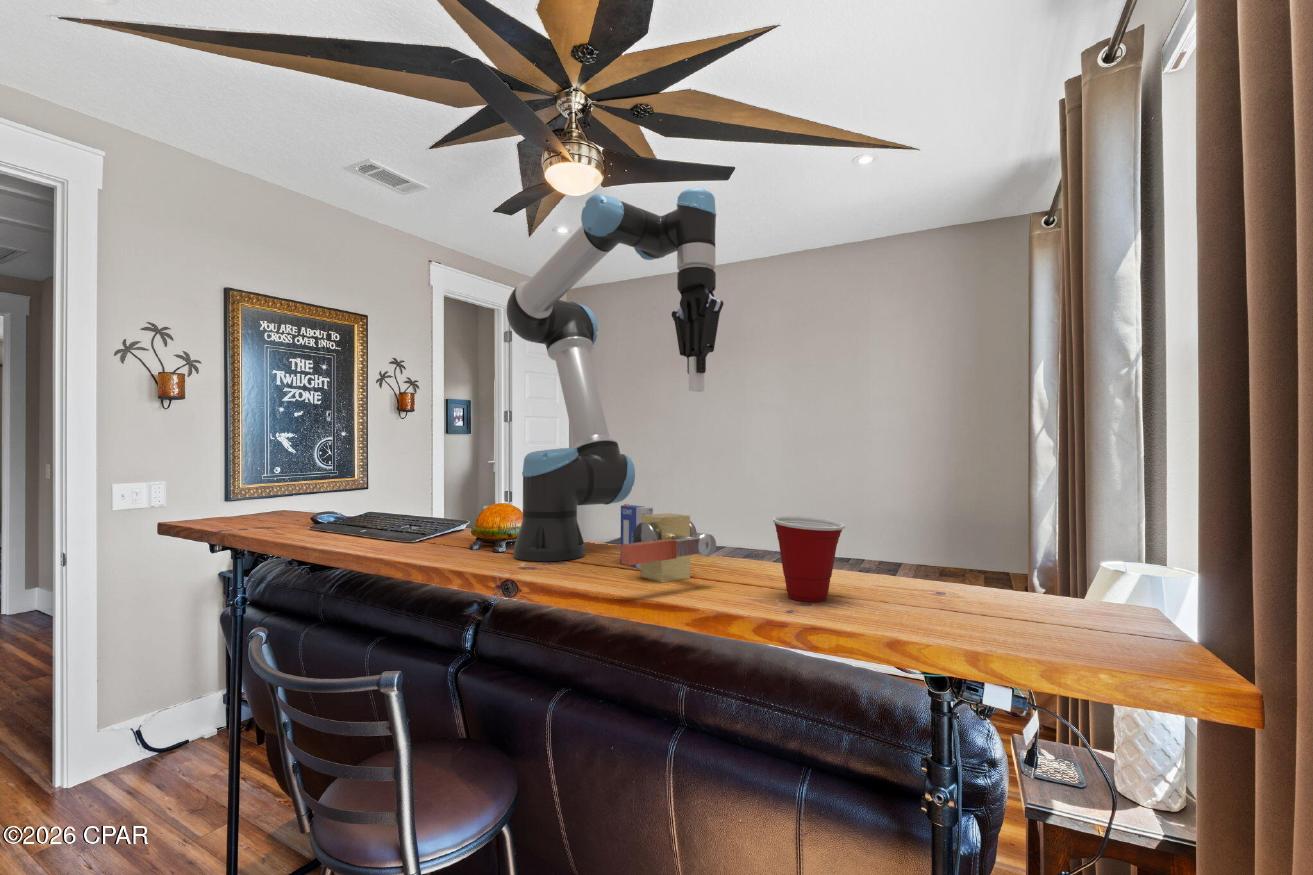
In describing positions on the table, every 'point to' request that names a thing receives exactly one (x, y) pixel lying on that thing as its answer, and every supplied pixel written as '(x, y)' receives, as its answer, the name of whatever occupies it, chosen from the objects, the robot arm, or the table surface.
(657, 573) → the valve pipe
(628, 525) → the walkman
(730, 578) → the table surface
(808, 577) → the plastic cup
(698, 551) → the valve lever
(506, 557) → the table surface
